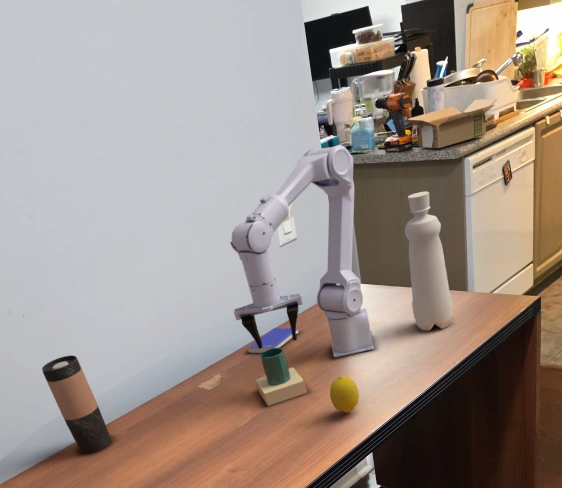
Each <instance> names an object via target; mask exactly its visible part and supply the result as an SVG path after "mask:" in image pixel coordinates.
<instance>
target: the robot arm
mask: <svg viewBox="0 0 562 488" xmlns="http://www.w3.org/2000/svg"><path fill="white" fill-rule="evenodd" d="M353 178H354V157H353V156H352V154H351V152H350V151H349V150H348V149H347V148H346V147H345V145H344V146H343V145H340V144H338V145H335V146H331V147H322V148H317V149H311V148H310V149H308V150H306V151H305V152H304V153H303V154H302V156H300V157H299V158H298V159H297V165H296V167H295V168H294V169H293V170H292V172H291V173H290V175H289V176H288V177H287V179H285V181H284V183H283V184H282V185H281V186H280V187H279V189H278V191H276V193H275V194H273V193H272V194H270V193H269V194H267V195H263V196H262V197H260V199H259V202H260V203H259V204H258V206H256V207H255V209H254V210H253V211H252V212H251V213H249V214H247V216H245V217H246V219H245V221H244V222H240V223H238V224H237V225H235V226H234V228H233V230H232V233H231V241H230V243H229V244H230V246H231V248H232V249H233V250H234V251H235V252H236V253H237V254H238V257H239V260H240V261H241V263H242V267H243V270H244V274H245V278H246V282H247V284H248V285H247V286H248V288H249V292H250V296H251V299H252V300H251V301H252V303H249V304H246V305H244V306H241V307H237V308H234V310H233V314H234V318H235V321H241V325H242V327H244V328H245V330H247V332H248V333H249V334H250V336H251V337H252V338H253V339H254V342H256V343H257V345H258V347H259V349H261V348H262V341H261V338H262V337H261V335H260V332H259V330H258V326H257V322H256V317H255V316H257V315H261V314H265V313H269V312H272V311H277V310H281V309H286V315H287V319H288V321H289V325H290V328H291V331H292V340H293V342H294V341H297V339H298V338H297V334H296V328H297V321H298V315H299V306H301V305H304V300H303V296H302V293H301V292H300V293H295V294H286V295H280V292H279V288H278V285H277V284H278V283H277V280H276V276H275V272H274V268H273V264H272V261H271V256H270V252H269V248H270V246H271V244H272V237H273V235H274V233H275V232H277V230H278V229H279V227H280V226H281V225H282V224H283V223H284V221H285V220H286V219H287V218H288V216H289V214H290V213H289V212H290V211H289V206H290V205H291V204H292V203H294V202H295V201H296V199H297V198H298V197H299V196H300V195H301V194H302V193H303V192H304V191H305V190H306V189H307V188H308V187H309V186H310V184H312V185H314V186H316V187H317V188H319V189H321V190H322V191H323V192H324V193H325V194H326V195H327V196H328V229H327V230H328V231H327V232H328V235H327V236H328V237H327V271H326V272H325V274H323V275H322V277H321V278H320V279H319V288H318V291H317V294H316V303H317V306H318V308H319V310H321V311H322V312H324V316H325V317H327V322H328V326H329V331H330V336H331V342H332V344H331V348H332V354H333V358H335V359H336V358H341V357H345V356H349V355H354V354H359V353H362V352H367V351H371V350H372V351H373V350H374V343H373V338H374V336H373V331H372V330H371V325H370V321H369V315H368V312H367V308H366V307H365V308H362V306H363V302H364V300H363V299H364V296H363V292H362V289H361V281H362V280H361V279H360V278H359V277H358V276H357V275H356V274H355V273H354V272H353V271H352V270H353V269H352V268H353V245H354V244H353V242H354V240H353V239H354V212H355V183H354V179H353Z"/></svg>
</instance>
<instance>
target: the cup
mask: <svg viewBox="0 0 562 488" xmlns="http://www.w3.org/2000/svg"><path fill="white" fill-rule="evenodd" d="M259 357H260V360H261V365H262V368H263V371H264V377H266V379H267V382H268V384H269V385H280V384H283V383H286V382H287V381H289V380H290V378H291V376H290V372H289V369H290V368H289V365H288V360H287V356H286V353H285V349H284V348H282V347H280V348H272V349H269V350H266V351H264V352H263V353H260V356H259Z"/></svg>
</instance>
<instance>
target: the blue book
mask: <svg viewBox="0 0 562 488" xmlns="http://www.w3.org/2000/svg"><path fill="white" fill-rule="evenodd" d="M297 334H299V328H298V327H296V335H297ZM260 338H261V341H262V348H261V349H259V347H258V345H257V343H256V341H254V342H253V343H252V344H251V345H249V346H248V347H247V351H248V353H253V354H262V353H263V352H264V351H266V350H269V349H272V348H282V346H284V345H285V344H286V343H288V342H289V341H290V340H292V339H293V337H292V331H291V327H279V328H272V329H271V330H269V331H268V332H267V333H266V334H264V335H263V336H261V337H260Z"/></svg>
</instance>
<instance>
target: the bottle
mask: <svg viewBox="0 0 562 488" xmlns="http://www.w3.org/2000/svg"><path fill="white" fill-rule="evenodd" d="M407 200H408V205H409V208H410V210H409V212H410V213H412V215H413V216H414V217H413V218H411V219H410V220H409V221H407V223H406V225H405V228H404V234H405V238H406V239H407V240H408V261H409V272H410V273H409V274H410V284H411V296H412V303H411V306H412V313H413V318H414V320H415V324H416V326H417V327H418V328H419V329H420V330H421V331H423V332H424V331H425V332H430V331H431V330H432V328H433V327H434V325H436V326H437V327H438V328H440V330H441V329H444V328H447V327H448V326H449V325H450V324H451V323H452V320H453V312H454V310H453V309H454V308H453V300H452V299H453V298H452V295H451V292H450V287H449V280H448V274H447V268H446V262H445V256H444V249H443V244H442V241H441V238H440V236H439V235H440V233H441V228H442V224H441V222H440V220H439V219H438V217H437V216H436V215H433V214H429V210H430V209H431V206H430V192H429V191H420V192H415V193H412V194H409V195H408V196H407Z"/></svg>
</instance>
